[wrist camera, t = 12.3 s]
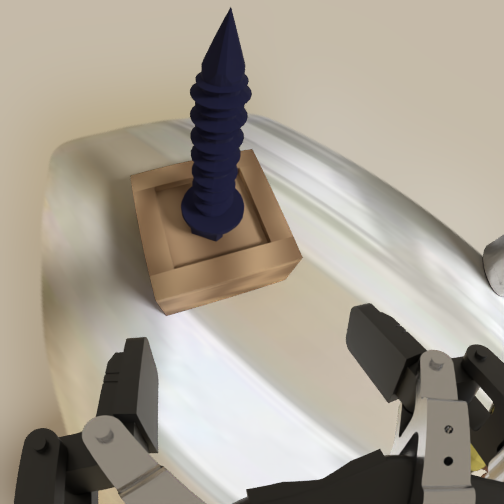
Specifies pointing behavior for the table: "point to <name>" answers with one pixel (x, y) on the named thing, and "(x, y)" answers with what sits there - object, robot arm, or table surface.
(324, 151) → the table surface
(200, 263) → the plinth
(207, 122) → the screw
